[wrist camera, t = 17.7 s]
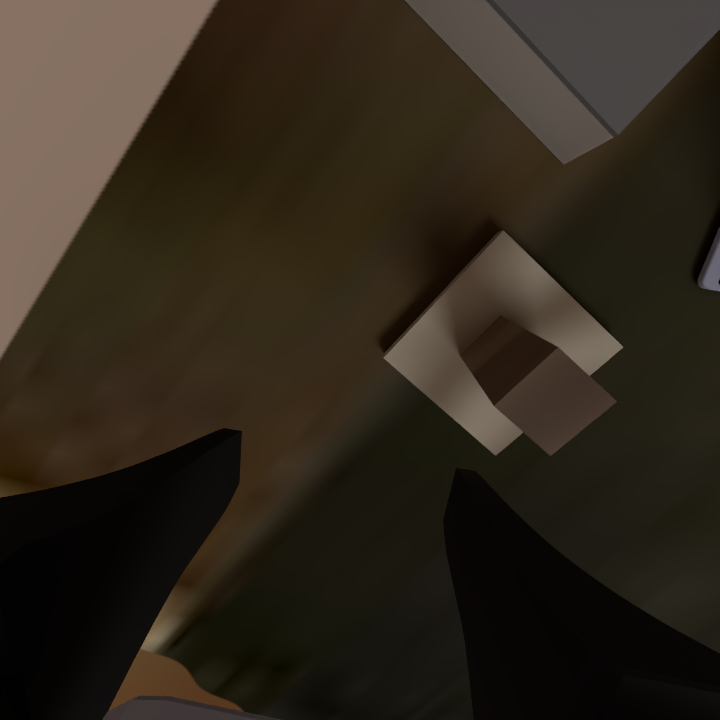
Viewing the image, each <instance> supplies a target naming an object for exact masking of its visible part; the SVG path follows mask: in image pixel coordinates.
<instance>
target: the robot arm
mask: <svg viewBox="0 0 720 720" xmlns="http://www.w3.org/2000/svg"><path fill="white" fill-rule="evenodd" d="M719 279H720V227H719V229H718V232H717V234H716V237H715V239H714V241H713V244H712V246H711V248H710V251H709V253H708V256H707V258H706V260H705V263H704V265H703V267H702V270H701V272H700V275H699V277H698V285H699V286H700V287H701V288H703V289H708V290H715V291H720V285H719V283H718V282H719ZM241 436H242V431H238V430H232V429H226V428H223V429H220V430H218V431H215V432H213V433H210V434H208V435H206V436H203V437H201V438H199V439H197V440H194V441H192V442H190V443H188V444H185V445H183V446H181V447H178V448H176V449H174V450H172V451H169V452H167V453H164V454H162V455H159V456H156V457H154V458H151V459H149V460H146V461H144V462H141V463H139V464H136V465H133V466H130V467H127V468H124V469H121V470H118V471H115V472H112V473H108V474H105V475H102V476H98V477H95V478H91V479H87V480H83V481H79V482H75V483H71V484H67V485H63V486H59V487H55V488H50V489H45V490H40V491H35V492H30V493H25V494H19V495H13V496H8V497H2V498H0V720H280V719H275V718H270V717H265V716H261V715H256V714H251V713H246V712H242V711H237V710H232V709H227V708H223V707H218V706H213V705H208V704H204V703H198V702H194V701H189V700H185V699H180V698H175V697H168V696H165V697H164V696H138V697H136V698H134V699H131V700H129V701H127V702H125V703H123V704H121V705H119V706H117V707H116V708H114V709H112V710H110V711H108V710H109V708H110V706H111V704H112V702H113V700H114V698H115V696H116V694H117V692H118V690H119V688H120V686H121V684H122V682H123V680H124V678H125V676H126V674H127V673H128V671H129V669H130V667H131V665H132V663H133V661H134V659H135V657H136V655H137V653H138V651H139V649H140V647H141V646H142V644H143V642H144V640H145V638H146V636H147V634H148V633H149V631H150V629H151V627H152V625H153V623H154V621H155V619H156V618H157V616H158V614H159V612H160V611H161V609H162V607H163V605H164V603H165V602H166V600H167V598H168V596H169V595H170V593H171V591H172V589H173V587H174V586H175V584H176V582H177V581H178V579H179V578H180V576H181V575H182V573H183V571H184V570H185V568H186V567H187V566H188V564H189V563H190V561H191V560H192V558H193V557H194V555H195V554H196V553H197V551H198V550H199V548H200V547H201V545H202V544H203V542H204V541H205V540H206V538H207V537H208V535H209V534H210V532H211V531H212V529H213V528H214V527H215V525H216V524H217V522H218V521H219V519H220V518H221V516H222V515H223V513H224V512H225V510H226V508H227V507H228V505H229V503H230V501H231V499H232V497H233V495H234V493H235V491H236V489H237V487H238V485H239V479H240V457H241ZM443 521H444V534H445V545H446V553H447V558H448V562H449V567H450V572H451V577H452V581H453V586H454V590H455V595H456V599H457V604H458V609H459V613H460V618H461V622H462V628H463V634H464V639H465V646H466V655H467V663H468V671H469V679H470V688H471V698H472V707H473V716H474V720H720V654H719V653H717V652H716V651H714V650H712V649H710V648H708V647H706V646H705V645H703V644H701V643H699V642H697V641H695V640H693V639H692V638H690V637H688V636H686V635H684V634H682V633H681V632H679V631H677V630H675V629H673V628H671V627H670V626H668V625H666V624H664V623H663V622H661V621H659V620H658V619H656V618H655V617H653V616H651V615H650V614H648V613H646V612H645V611H643V610H641V609H640V608H638V607H636V606H635V605H633V604H632V603H630V602H628V601H627V600H625V599H624V598H622V597H621V596H619V595H618V594H616V593H615V592H613V591H612V590H610V589H609V588H607V587H606V586H604V585H603V584H602V583H600V582H599V581H597V580H596V579H594V578H593V577H591V576H590V575H589V574H587V573H586V572H585V571H583V570H582V569H580V568H579V567H578V566H576V565H575V564H574V563H573V562H571V561H570V560H569V559H568V558H566V557H565V556H564V555H563V554H561V553H560V552H559V551H558V550H556V549H555V548H554V547H553V546H551V545H550V544H549V543H548V542H547V541H546V540H544V539H543V538H542V537H541V536H540V535H539V534H538V533H537V532H536V531H534V530H533V529H532V528H531V527H530V526H529V525H528V524H527V523H526V522H525V521H524V520H523V519H522V518H521V517H520V516H519V515H517V514H516V513H515V512H514V511H513V510H512V509H511V508H510V506H509V505H508V504H507V503H506V502H505V501H504V500H503V499H502V498H501V497H500V496H499V495H498V494H497V493H496V492H495V491H494V490H493V489H492V488H491V487H490V486H489V485H488V484H487V482H486V481H485V480H484V479H483V478H482V477H481V476H480V475H479V474H478V473H477V472H475V471H471V470H465V469H459V468H456V471H455V475H454V479H453V483H452V487H451V491H450V495H449V499H448V503H447V507H446V511H445V515H444V519H443Z"/></svg>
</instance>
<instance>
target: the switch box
mask: <svg viewBox="0 0 720 720" xmlns="http://www.w3.org/2000/svg"><path fill="white" fill-rule="evenodd" d="M405 1H406V2H407V3H408V4H409V5H410V6H411V7H412V8H413V10H414V11H415V12H416V13H417V14H418V15H419V16H420V17H421V18H422V19H423V20H424V21H425V22H426V23H427V24H428V25H429V26H430V27H431V28H432V29H433V30H434V31H435V32H436V33H437V34H438V35H439V36H440V37H441V38H442V39H443V41H444V42H445V43H446V44H447V45H448V46H449V47H450V48H451V49H452V50H453V51H454V52H455V53H456V54H457V55H458V56H459V57H460V58H461V59H462V60H463V61H464V62H465V63H466V64H467V65H468V66H469V67H470V68H471V69H472V70H473V72H474V73H475V74H476V75H477V76H478V77H479V78H480V79H481V80H482V81H483V82H484V83H485V84H486V85H487V86H488V87H489V88H490V89H491V90H492V91H493V92H494V93H495V94H496V95H497V96H498V97H499V98H500V99H501V100H502V101H503V103H504V104H505V105H506V106H507V107H508V108H509V109H510V110H511V111H512V112H513V113H514V114H515V115H516V116H517V117H518V118H519V119H520V120H521V121H522V122H523V123H524V124H525V125H526V126H527V127H528V128H529V129H530V130H531V131H532V132H533V134H534V135H535V136H536V137H537V138H538V139H539V140H540V141H541V142H542V143H543V144H544V145H545V146H546V147H547V148H548V149H549V150H550V151H551V152H552V153H553V154H554V155H555V156H556V157H557V158H558V159H559V160H560V161H561V162H562V164H563V165H564V164H566V163H568V162H569V161H571V160H573V159H575V158H577V157H579V156H580V155H582V154H584V153H586V152H588V151H590V150H591V149H593V148H595V147H597V146H599V145H601V144H602V143H604V142H606V141H608V140H610V139H611V138H613V137H615V136H617V135H619V133H620V132H621V131H622V130H623V129H624V128H625V127H626V126H627V125H628V124H629V123H630V122H631V121H632V120H633V119H634V118H635V117H636V116H637V115H638V114H639V113H640V112H641V111H642V110H643V109H644V107H645V106H646V105H647V104H648V103H649V102H650V101H651V100H652V99H653V98H654V97H655V96H656V95H657V94H658V93H659V92H660V91H661V90H662V89H663V88H664V87H665V86H666V85H667V84H668V82H669V81H670V80H671V79H672V78H673V77H674V76H675V75H676V74H677V73H678V72H679V71H680V70H681V69H682V68H683V67H684V66H685V65H686V64H687V63H688V62H689V61H690V60H691V59H692V58H693V56H694V55H695V54H696V53H697V52H698V51H699V50H700V49H701V48H702V47H703V46H704V45H705V44H706V43H707V42H708V41H709V40H710V39H711V38H712V37H713V36H714V35H715V34H716V33H717V31H718V30H719V29H720V0H405Z"/></svg>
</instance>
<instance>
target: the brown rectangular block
mask: <svg viewBox="0 0 720 720" xmlns="http://www.w3.org/2000/svg"><path fill="white" fill-rule="evenodd" d="M460 357H461V358H462V360H463V361H464V363H465V364H466V366H467V367H468V369H469V370H470V372H471V373H472V375H473V376H474V378H475V379H476V381H477V382H478V383H479V385H480V386H481V388H482V389H483V391H484V392H485V394H486V395H487V397H488V398H489V400H490V401H491V403H492V404H493V406H494V407H495V408H497V409H498V410H499V411H500V412H501V413H502V414H503V415H505V416H506V417H507V418H508V419H509V420H510V421H511V422H512V423H514V424H515V425H516V426H517V427H518V428H519V429H520V430H522V431H523V432H524V433H525V434H526V435H527V436H528V437H530V438H531V439H532V440H533V441H534V442H535V443H536V444H538V445H539V446H540V447H541V448H542V449H543V450H544V451H546V452H547V453H548V454H549V455H550V456H551V455H552V454H553V453H555V452H556V451H557V450H558V449H559V448H561V447H562V446H563V445H564V444H566V443H567V442H568V441H569V440H571V439H572V438H573V437H574V436H575V435H577V434H578V433H579V432H580V431H582V430H583V429H584V428H585V427H586V426H588V425H589V424H590V423H591V422H593V421H594V420H595V419H596V418H597V417H599V416H600V415H601V414H602V413H604V412H605V411H606V410H607V409H608V408H610V407H611V406H612V405H613V404H615V403H616V402H617V401H616V400H615V399H614V398H613V397H612V396H610V395H609V394H608V393H607V392H606V391H605V390H604V389H603V388H602V387H601V386H600V385H599V384H598V383H596V382H595V381H594V380H593V379H592V378H591V377H590V376H589V375H588V374H587V373H586V372H585V371H584V370H582V369H581V368H580V367H579V366H578V365H577V364H576V363H575V362H574V361H573V360H572V359H571V358H570V357H569V356H567V355H566V354H565V353H564V352H563V351H562V350H561V349H560V348H559V347H557V346H555V345H554V344H552V343H550V342H548V341H546V340H544V339H543V338H541V337H539V336H537V335H535V334H533V333H531V332H530V331H528V330H526V329H524V328H522V327H520V326H519V325H517V324H515V323H513V322H511V321H509V320H507V319H506V318H504V317H502V316H499V317H498V318H497V319H496V320H495V321H494V322H493V323H492V324H491V325H490V326H489V327H488V328H487V329H486V330H485V331H484V332H483V333H482V334H481V335H480V336H479V337H478V338H477V339H476V340H475V341H474V342H473V343H472V344H471V345H470V346H469V347H468V348H467V349H466V350H465V351H464V352H463V353H462V354H461V355H460Z"/></svg>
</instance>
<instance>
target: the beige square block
mask: <svg viewBox="0 0 720 720" xmlns="http://www.w3.org/2000/svg"><path fill="white" fill-rule="evenodd" d="M499 316H502V317H504V318H506V319H507V320H509V321H511V322H513V323H515V324H517V325H519V326H520V327H522V328H524V329H526V330H528V331H530V332H531V333H533V334H535V335H537V336H539V337H541V338H543V339H544V340H546V341H548V342H550V343H552V344H554V345H555V346H557V347H559V348H560V349H561V350H562V351H563V352H564V353H565V354H566V355H567V356H569V357H570V358H571V359H572V360H573V361H574V362H575V363H576V364H577V365H578V366H579V367H580V368H581V369H582V370H584V371H585V372H586V373H587V374H588V375H589V376H590V375H591V374H592V373H593V372H595V371H596V370H597V369H598V368H599V367H601V366H602V365H603V364H604V363H605V362H606V361H608V360H609V359H610V358H611V357H612V356H613V355H615V354H616V353H617V352H618V351H619V350H621V349H622V348H623V346H622V345H620V344H619V343H618V342H617V341H616V340H615V339H614V338H613V337H612V336H611V335H610V334H609V333H608V332H607V331H606V330H605V329H604V328H603V327H602V326H601V325H600V324H599V323H598V322H597V321H596V320H595V319H594V318H593V317H592V316H591V315H590V314H589V313H588V312H587V311H586V310H585V309H584V308H583V307H582V306H580V305H579V304H578V303H577V302H576V301H575V300H574V299H573V298H572V297H571V296H570V295H569V294H568V293H567V292H566V291H565V290H564V289H563V288H562V287H561V286H560V285H559V284H558V283H557V282H556V281H555V280H554V279H553V278H552V277H551V276H550V275H549V274H548V273H547V272H546V271H545V270H544V269H543V268H542V267H541V266H539V265H538V264H537V263H536V262H535V261H534V260H533V259H532V258H531V257H530V256H529V255H528V254H527V253H526V252H525V251H524V250H523V249H522V248H521V247H520V246H519V245H518V244H517V243H516V242H515V241H514V240H513V239H512V238H511V237H510V236H509V235H508V234H507V233H506V232H505V231H504V230H503V231H499V232H497V233H496V234H495V235H494V236H493V237H492V239H491V240H490V241H489V242H488V243H487V244H486V245H485V246H484V247H483V248H482V249H481V250H480V251H479V252H478V253H477V255H476V256H475V257H474V258H473V259H472V260H471V261H470V262H469V263H468V264H467V265H466V266H465V267H464V268H463V270H462V271H461V272H460V273H459V274H458V275H457V276H456V277H455V278H454V279H453V280H452V281H451V282H450V283H449V284H448V286H447V287H446V288H445V289H444V290H443V291H442V292H441V293H440V294H439V295H438V296H437V297H436V298H435V299H434V301H433V302H432V303H431V304H430V305H429V306H428V307H427V308H426V309H425V310H424V311H423V312H422V313H421V314H420V315H419V317H418V318H417V319H416V320H415V321H414V322H413V323H412V324H411V325H410V326H409V327H408V328H407V329H406V330H405V332H404V333H403V334H402V335H401V336H400V337H399V338H398V339H397V340H396V341H395V342H394V343H393V344H392V345H391V346H390V348H389V349H388V350H387V351H386V352H385V353H384V359H385V360H386V361H387V362H389V363H390V364H391V365H392V366H393V367H394V368H396V369H397V370H398V371H399V372H400V373H401V374H402V375H404V376H405V377H406V378H407V379H408V380H409V381H410V382H412V383H413V384H414V385H415V386H416V387H417V388H419V389H420V390H421V391H422V392H423V393H424V394H425V395H427V396H428V397H429V398H430V399H431V400H432V401H433V402H435V403H436V404H437V405H438V406H439V407H440V408H442V409H443V410H444V411H445V412H446V413H447V414H448V415H450V416H451V417H452V418H453V419H454V420H455V421H456V422H458V423H459V424H460V425H461V426H462V427H463V428H465V429H466V430H467V431H468V432H469V433H470V434H471V435H473V436H474V437H475V438H476V439H477V440H478V441H479V442H481V443H482V444H483V445H484V446H485V447H486V448H488V449H489V450H490V451H491V452H492V453H493V454H494V455H497V454H498V453H499V452H500V451H502V450H503V449H504V448H505V447H506V446H508V445H509V444H510V443H511V442H512V441H513V440H515V439H516V438H517V437H518V436H519V435H520V434H522V433H523V431H522V430H520V429H519V428H518V427H517V426H516V425H515V424H514V423H512V422H511V421H510V420H509V419H508V418H507V417H506V416H505V415H503V414H502V413H501V412H500V411H499V410H498V409H497V408H495V407H494V406H493V404H492V403H491V401H490V400H489V398H488V397H487V395H486V394H485V392H484V391H483V389H482V388H481V386H480V385H479V383H478V382H477V381H476V379H475V378H474V376H473V375H472V373H471V372H470V370H469V369H468V367H467V366H466V364H465V363H464V361H463V360H462V358H461V357H460V355H461V354H462V353H463V352H464V351H465V350H466V349H467V348H468V347H469V346H470V345H471V344H472V343H473V342H474V341H475V340H476V339H477V338H478V337H479V336H480V335H481V334H482V333H483V332H484V331H485V330H486V329H487V328H488V327H489V326H490V325H491V324H492V323H493V322H494V321H495V320H496V319H497V318H498V317H499Z"/></svg>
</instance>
